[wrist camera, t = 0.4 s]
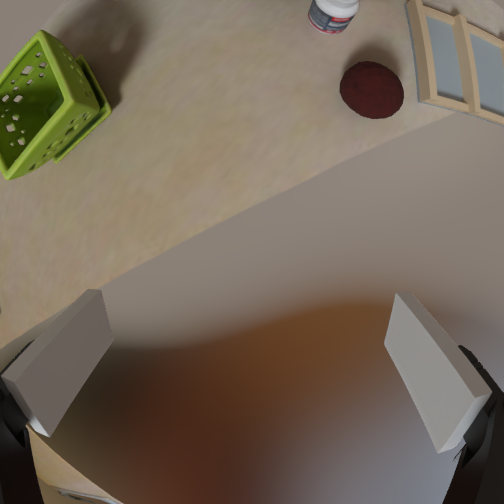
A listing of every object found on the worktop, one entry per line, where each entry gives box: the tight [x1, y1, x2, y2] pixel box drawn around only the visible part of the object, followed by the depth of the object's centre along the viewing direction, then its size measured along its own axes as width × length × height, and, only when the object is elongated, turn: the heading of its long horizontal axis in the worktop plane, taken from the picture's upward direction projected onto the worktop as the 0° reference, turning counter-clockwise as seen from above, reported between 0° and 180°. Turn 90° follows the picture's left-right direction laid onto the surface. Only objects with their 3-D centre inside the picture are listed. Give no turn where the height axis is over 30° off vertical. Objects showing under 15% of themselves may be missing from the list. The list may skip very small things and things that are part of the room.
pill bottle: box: [308, 0, 359, 35], centre depth 24 cm, size 5×5×9 cm
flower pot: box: [0, 30, 112, 180], centre depth 27 cm, size 14×14×13 cm
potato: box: [340, 61, 404, 119], centre depth 28 cm, size 7×8×7 cm
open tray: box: [405, 0, 504, 127], centre depth 26 cm, size 16×21×4 cm
